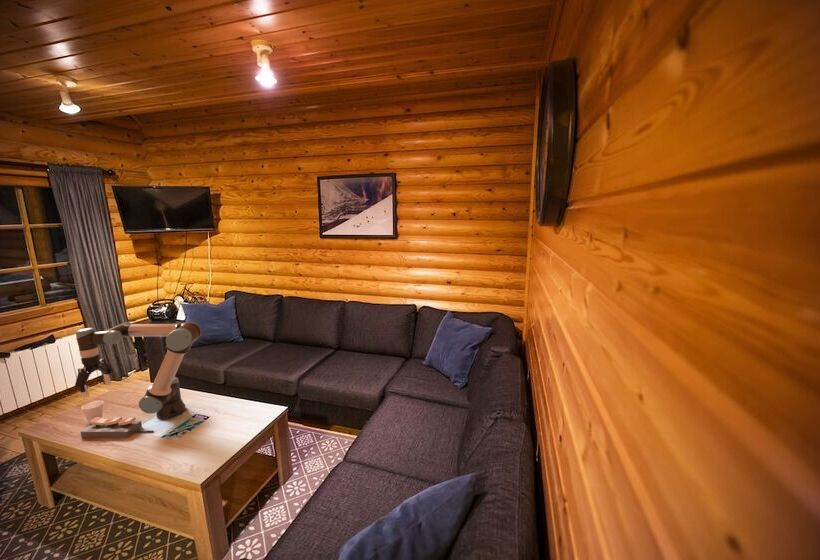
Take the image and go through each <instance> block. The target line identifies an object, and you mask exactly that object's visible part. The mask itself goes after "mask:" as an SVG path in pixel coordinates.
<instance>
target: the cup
mask: <svg viewBox="0 0 820 560" xmlns="http://www.w3.org/2000/svg"><path fill="white" fill-rule="evenodd" d="M103 408H104V400H99V399H98V400H94V401H91V402H87V403H85V404H84V405H82V406H81V407H80V409H81V410H82V412H83V414H84V416H85V418H86V421H87V423H88V424H90V421H91V420H92V419H94V418H96V417H100V418H103V413H104V412H103V411H104V409H103Z"/></svg>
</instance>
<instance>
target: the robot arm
mask: <svg viewBox="0 0 820 560" xmlns="http://www.w3.org/2000/svg"><path fill="white" fill-rule="evenodd" d="M201 336H202V328H201V326H200V325H199V324H198V323H196V322H193V321H180V322H178V323H132V322H129V321H128V322H127V321H125V322H123V323H122V322H121V323H120V324H117V325H116V326H114V327H111V328H108V329H107V330H103V331H102V330H101V331H95V328H94V327H85V328H80V329H78V330H76V332H75V337H76V338H75V340H76V342H77V345H78V350H79V355H80V357H81V358H80V360H81V364H82V365H83V367H82V368H78V369H77V376H76V380H75V383H74V387H75V388H79V391H80V393H81V394H82V397H83V398H88V397H90V394H89V390H88V386H87V382H88V380H89V378H90V376H91V374H92V373H94V372H96V371H100V372H101V373H103V379H104V380H103V381H104V385H105V386H111V385H112V382H111V374H112V373H113V368H112V367H111V366H110V365H109V363H107V361H106V358H101V356H100V354H99V353H100V350H99V348H98V347H99V346H107V345H109V346H110V345H115V344H116V345H117V344H119V343H120V342H121V341H122V339H123V338H133V337H138V338H140V337H143V338H145V337H166V338H165V349H166V350H167V351H166V353H165V356H164V358H163V360H162V362H161V364H160V368H159V370H158V371H157V374H156V377H155V378H154V381H153V383H151V384H150V385H149V386H148V387H147V390H146V391H145V394H144V395H143V396H142V397H141V398H140V399H139V400H138V408H139V409H140V410H141V412H143V413H145V414H149V415H150V414H152V415H153V414H156V418H157V419H158V420H168V419H172V418H175V417H178V416H179V415H181V414H183V413H185V411H186V408H187V407H186V404H185V402H184V400H183V399H182V396H181V388H180V381H179V378H178V377H176V375H177V372H178V370H179V367H180V366H181V362H182V361H183V358H184V355H185V354H187V353H189V352H190V350H191V347H192V346H193V343H194V342H196V341H197V340H198V339H199V338H200V337H201Z"/></svg>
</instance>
